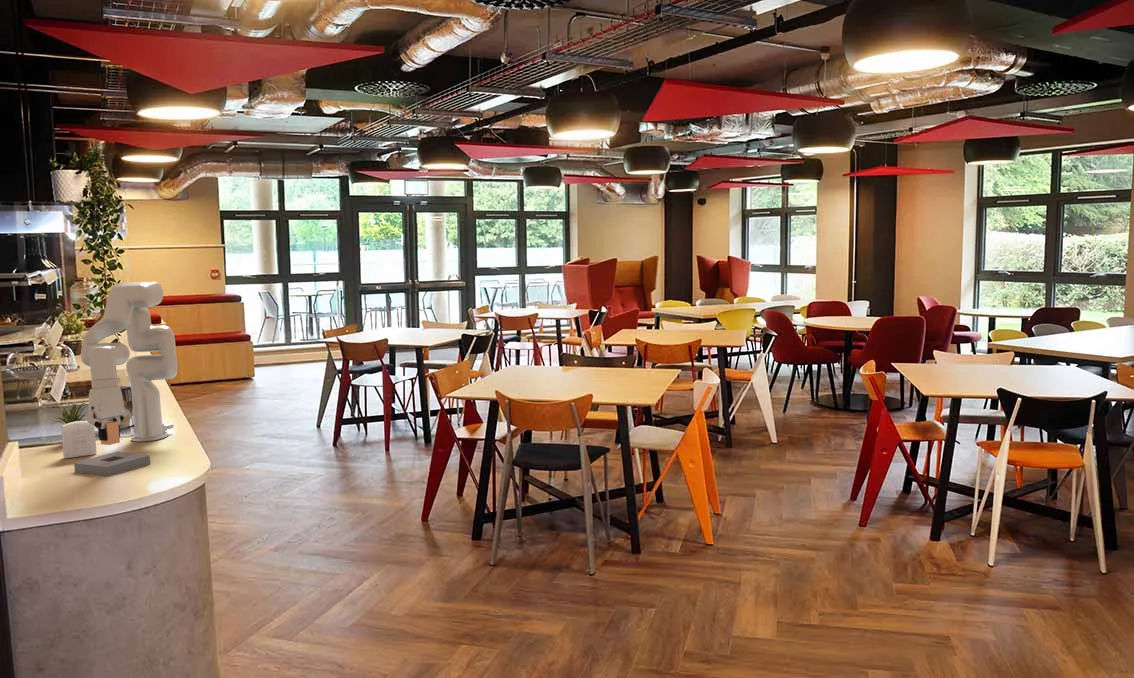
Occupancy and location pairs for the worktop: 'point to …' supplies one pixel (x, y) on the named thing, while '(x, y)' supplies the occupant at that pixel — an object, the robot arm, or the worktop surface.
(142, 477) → the worktop surface
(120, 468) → the grey square hole board
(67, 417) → the house plant
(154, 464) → the worktop surface
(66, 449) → the photo printer
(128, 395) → the coffee box
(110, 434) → the orange rectangular block
